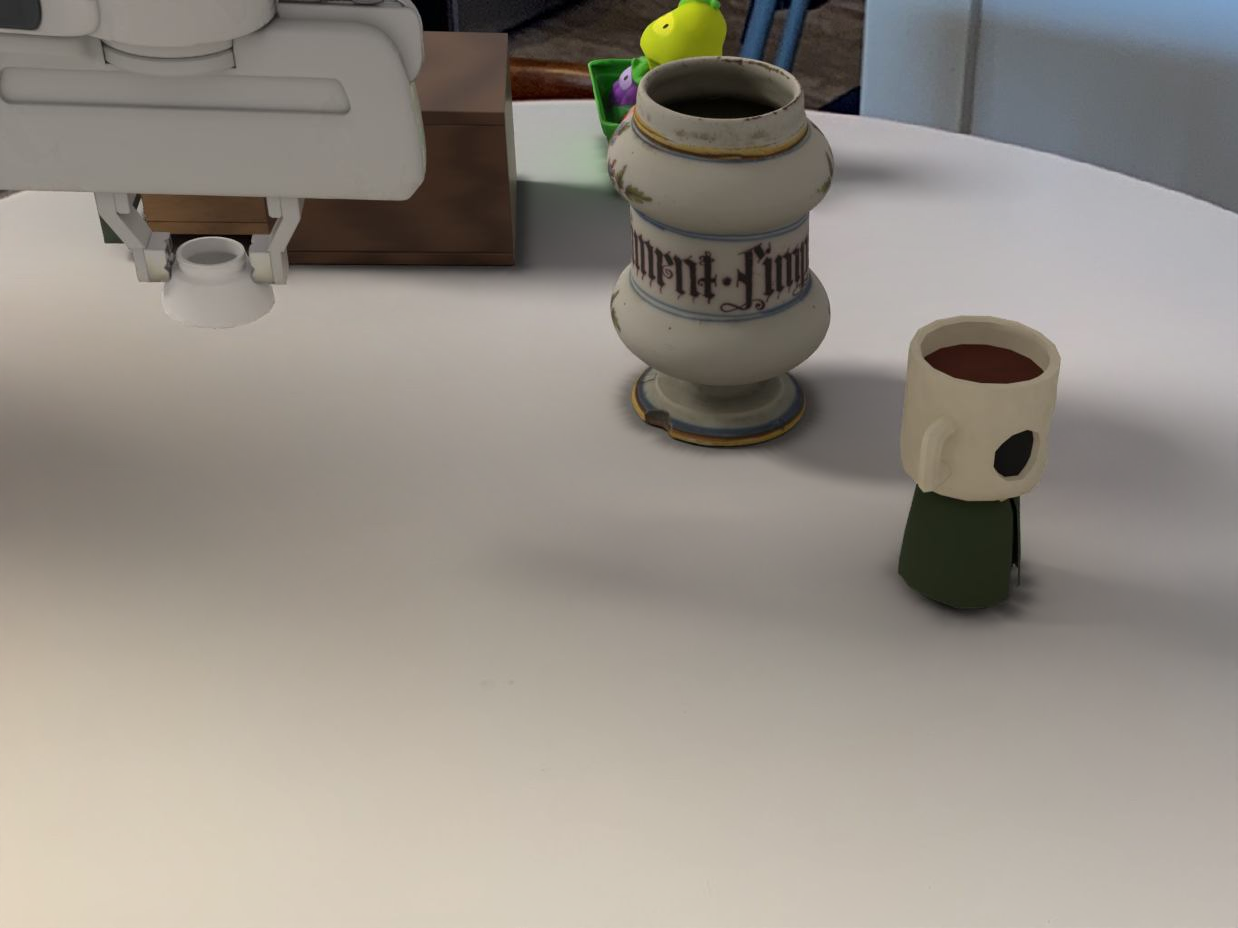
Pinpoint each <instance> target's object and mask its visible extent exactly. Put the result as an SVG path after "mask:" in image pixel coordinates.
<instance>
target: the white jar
mask: <svg viewBox="0 0 1238 928" xmlns="http://www.w3.org/2000/svg"><path fill="white" fill-rule="evenodd" d="M252 271H253V267H252V266H251V265H250V259H249V255H248V254H247V251H246V249H245V247H244V245H243V244H242V243H241V242H240V241H237V240H235V239H232V238H229V237H223V236H202V237H197V238H193V239H190V240H187V241H185V242H184V243H182V244H180V245H179V246H178V247H177V249H176V252H175V262H174V263H173V265H172V266H171V279H170V281H169V282H164V285H163V288H162V291H161V292H160V293H161V294H160V296H161V302H162V308H163V312H164V313H165V314H166V315H167V316H169V317H170V318H171V319H172V320H174V321H176V322H179V323H181V324H184V325H187V326H189V327H195V328H203V329H212V330H220V329H231V328H236V327H240V326H244V325H247V324H249V323H253V322H256V321H257V320H259V319H261V318H262V317H264V316H265V315H267V314H269V313H270V312H271V310H272V308H273V307H274V305H275V304H276V298H275V293H274V289H273V286H272V285H273V284H257V283H254V282H253V279H252Z"/></svg>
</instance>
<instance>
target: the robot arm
mask: <svg viewBox="0 0 1238 928" xmlns="http://www.w3.org/2000/svg"><path fill="white" fill-rule="evenodd" d="M423 31H424V24H423V21H422V16H421V15H420V12H419V10H418V8H417V7H416V5H415V4H414V3H413V1H412V0H395V1H385V0H0V191H29V192H32V191H33V192H66V193H67V192H69V193H70V192H71V193H93V194H94V193H95V196H94V199H95V198H96V201H95V204H96V203H97V205H96V209H97V208H98V210H97V214H98V213H99V215H100V216H101V217H102V218H103V219H104V220H105V222H106V223H107V224H108V225H109V226H110V227H111V229H112V230H113V231H114V232H115V233H116V234H117V236H118V237H119V238H120V239H121V240H122V241H123V242H124V245H125V247H127V248H128V249H131V251H132V252H131V253H132V258H133V263H134V268H135V272H136V278H137V281H138V282H140V283H165V282H169V281H170V279H171V266H172V265H173V263H174V262H175V260H176V255H175V254H174V253H173V251H172V250H173V241H172V240H173V239H172V234H170V232H152V230H151V229H150V228H149V226H148V225H147V224H146V222H147V221H146V220H145V219H144V218H143V217H142V215H141V214H140V213H139V212H138V209H137V210H136V209H135V208H134V206H133V202H134V199H135V197H136V194H137V193H139V194H176V195H212V196H249V197H266V199H267V206H268V213H269V216H270V217H272V218H278V219H277V221H276V223H275V225H274V227H273V229H272V231H271V233H270V234H253V235H251V239H250V242H251V244H249V247H248V256H249V259H250V265H251V266H252V267H253V271H252V279H253V282H254V283H257V284H271V285H273V286H274V285H276V286H277V285H280V286H281V285H282V286H283V285H284V286H286V285H287V284H288V280H289V279H288V278H289V273H290V272H289V270H290V269H289V268H290V267H289V264H290V263H288V256H287V248H286V247H287V245H288V243H289V241H290V239H291V237H292V235H293V233H294V231H295V229H296V227H297V225H298V223H299V221H300V219H301V214H302V209H303V204H304V200H305V198H322V199H359V200H396V201H400V200H407V199H409V198H410V197H411V196H412V195H413V194H414V193H415V191H416V190H417V189H418V188H419V186H420V185H421V184H422V182H423V181H424V178H425V172H426V143H425V135H424V127H423V121H422V115H421V109H420V104H419V99H418V94H417V89H416V85H415V81H414V80H415V79H416V78H417V77H418V76H419V74H420V72H421V70H422V68H423V65H424V60H425V50H424V37H423ZM99 215H98V216H99Z"/></svg>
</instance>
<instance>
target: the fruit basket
mask: <svg viewBox="0 0 1238 928" xmlns="http://www.w3.org/2000/svg"><path fill="white" fill-rule="evenodd" d="M721 6H722V4H721V2H720V0H719V1H718V0H680V1H679V3H678V6H677V7H676V8H674V9H673V10H671V11H669V12H667V13H665V14H663V15H662V16H660V17H658V18H656V19H655V20H653V21H652V22H651V23H649V24H648V25H647V26H646V28H645V29H644V31H643V33H642V35H641V37H640V41H639V45H640V48H641V50H642V52H643V54H644V55H641V56H640V57H637V58H636V57H633V58H606V59H594V60H591V61H589V62H588V63H587V67H588V71H589V75H590V76H589V77H590V81H591V84H592V89H593V95H594V102H595V105H596V109H597V112H598V118H599V122H600V126H601V130H602V133H603V135H604V136H605V137H606V141H607V143H608V145H609V142H610V139H611V137H612V135H613V133H614V132H615V130H616V129H617V127H618V126H619V125H620V124H621V122H622V121H623V120H624V119H625V118H626V117H627V116H629V115H630V114H631V113H632V112H633V110H634V107H635V104H636V97H637V90H638V86H639V83H640V81H641V79H642V78H643V77H644V76H645V74H647V73H648V72H649V71H650V70H652V69H653V68H655V67H657V66H659V65H661V64H664V63H668V62H671V61H675V60H679V59H685V58H692V57H702V56H723V46H724V43H725V40H726V36H727V29H728V28H727V27H728V26H727V22H726V19H725V18H724V15H723V13H722V11H721V10H720V8H721Z"/></svg>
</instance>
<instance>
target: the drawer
mask: <svg viewBox="0 0 1238 928" xmlns="http://www.w3.org/2000/svg"><path fill="white" fill-rule="evenodd" d="M93 196H94V200H95V205H96V206H97V203H96V198H95V193H94V192H93ZM140 202H141V203H142V207H143V208H142V209H143V214H144V220H145V222H146V224H147V225H148V226H149V228H150V229H151V230H152V232H170V234H171V235H215V236H217V235H227V236H228V235H229V236H231V235H232V236H234V235H235V236H237V235H238V236H252V235H253V234H269V231H268V225H267V218H266V212H265V206H264V199H263V197H249V196H212V195H176V194H139V193H137V194H136V197H135V199H134V202H133V206H134V208H135V209H136V210H137V211H138V208H139V205H140ZM96 211H98V208H97V207H96ZM97 214H98V218H99V223H100V227H101V233H102V238H103V241H104V244H108V245H109V244H113V245H114V244H118V245H122V244H124V242H123V241H122V240H121V239H120V238H119V237H118V236H117V234H116V233H115V232H114V231H113V230H112V229H111V227H110V226H109V225H108V224H107V223H106V222H105V220H104V219H103V218H102V217H101V216H100V215H99V213H98V212H97ZM124 245H125V244H124Z"/></svg>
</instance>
